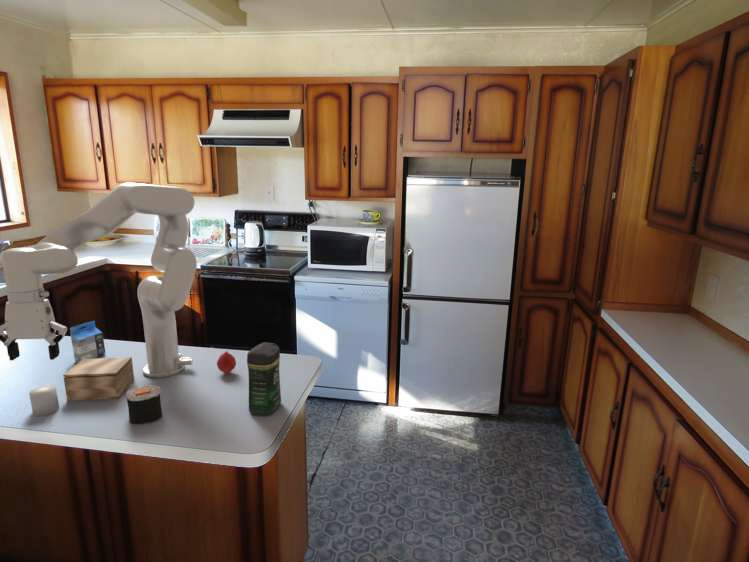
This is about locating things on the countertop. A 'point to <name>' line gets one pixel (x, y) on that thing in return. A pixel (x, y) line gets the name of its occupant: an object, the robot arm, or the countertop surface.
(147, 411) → the sushi
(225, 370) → the onion
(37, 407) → the cream-capped white cylinder
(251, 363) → the coffee jar
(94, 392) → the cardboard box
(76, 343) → the label tape box
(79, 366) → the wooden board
